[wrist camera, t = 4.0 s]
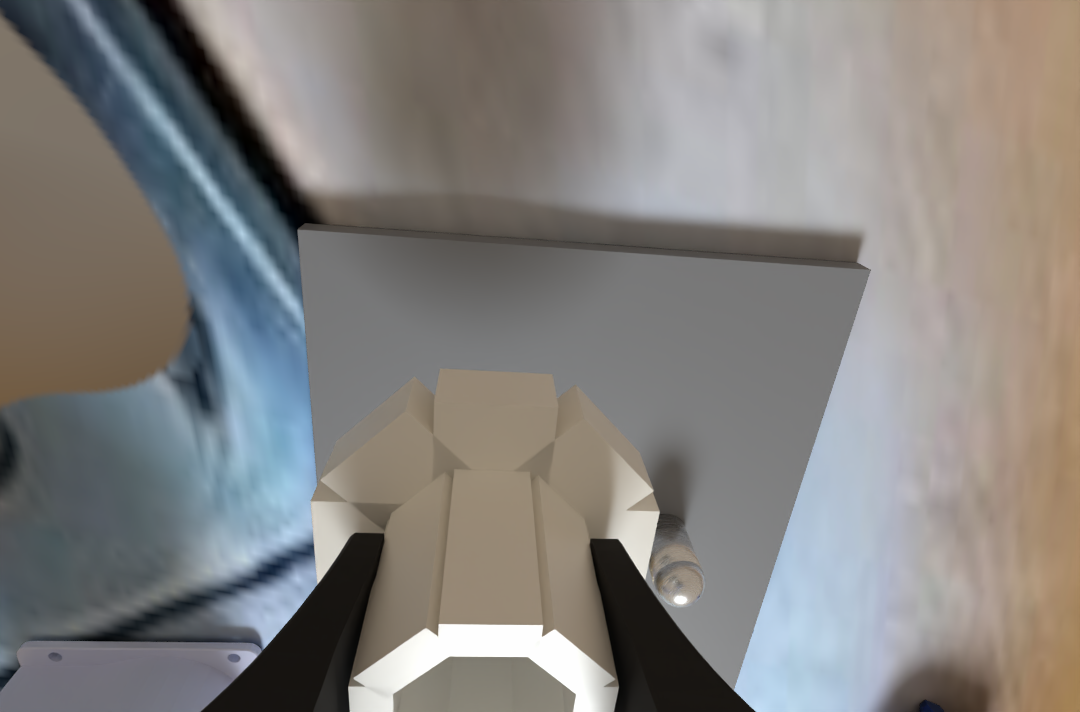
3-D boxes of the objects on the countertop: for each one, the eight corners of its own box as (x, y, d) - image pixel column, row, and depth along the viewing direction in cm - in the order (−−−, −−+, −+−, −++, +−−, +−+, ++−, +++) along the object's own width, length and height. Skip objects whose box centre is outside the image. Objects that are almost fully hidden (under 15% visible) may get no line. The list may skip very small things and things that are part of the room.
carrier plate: (339, 701, 28) (335, 717, 28) (304, 223, 19) (297, 229, 18) (719, 701, 30) (725, 716, 29) (857, 262, 21) (870, 269, 20)
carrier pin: (635, 549, 25) (655, 618, 21) (643, 512, 24) (664, 579, 21) (680, 550, 25) (706, 619, 22) (688, 514, 24) (717, 580, 21)
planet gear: (337, 617, 17) (271, 852, 12) (321, 362, 13) (219, 537, 8) (616, 620, 17) (665, 843, 12) (663, 379, 14) (753, 549, 9)
